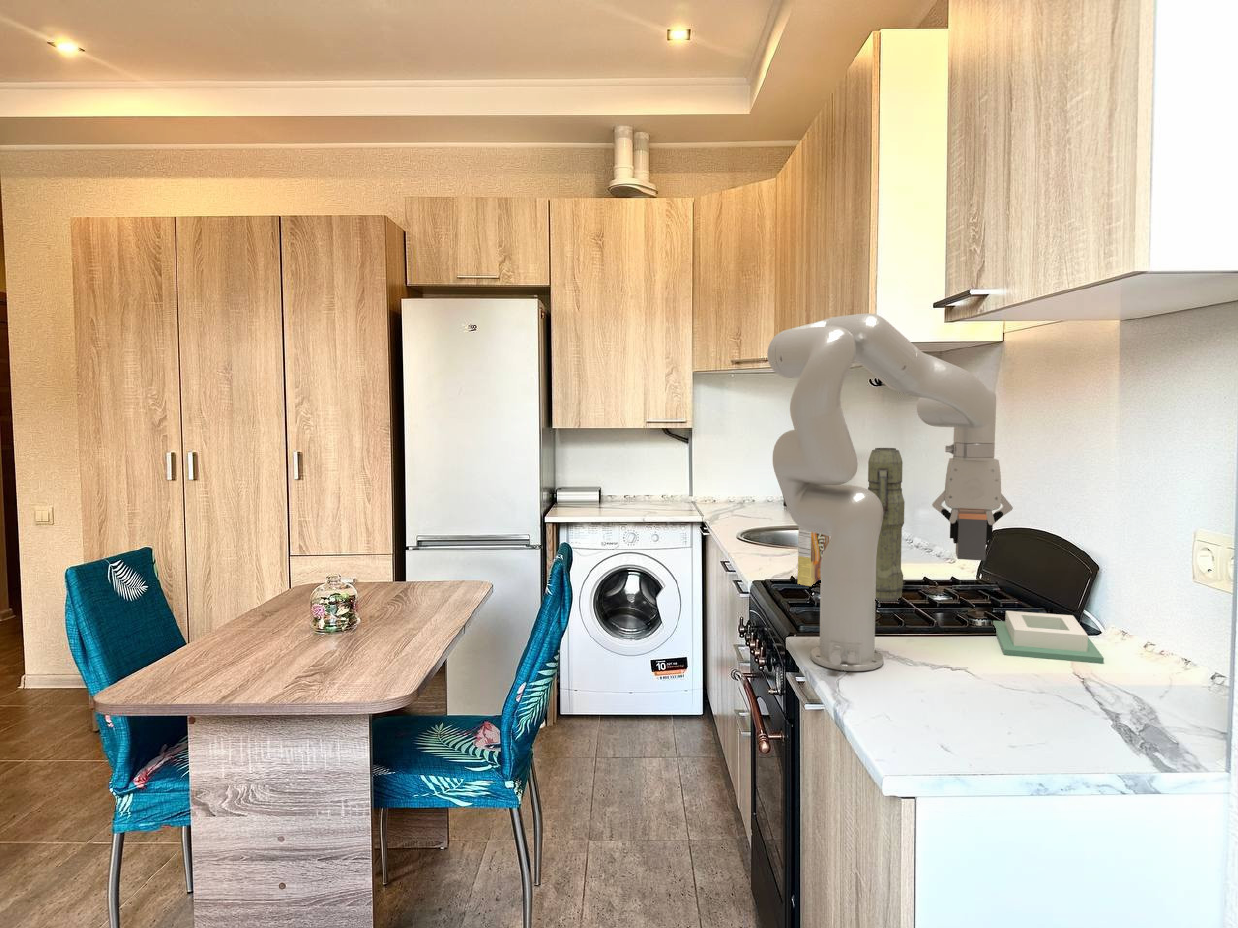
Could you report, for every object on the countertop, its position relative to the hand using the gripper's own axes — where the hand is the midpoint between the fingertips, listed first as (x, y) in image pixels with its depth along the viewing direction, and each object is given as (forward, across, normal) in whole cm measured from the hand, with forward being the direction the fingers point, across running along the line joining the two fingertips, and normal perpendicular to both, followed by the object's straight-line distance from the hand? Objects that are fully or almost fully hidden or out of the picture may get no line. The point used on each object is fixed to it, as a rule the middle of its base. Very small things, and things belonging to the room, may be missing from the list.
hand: (970, 542), depth 163 cm
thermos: (+18, -17, +24) cm, 35 cm away
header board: (+18, +13, -4) cm, 23 cm away
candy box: (+18, -34, +34) cm, 51 cm away
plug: (+3, 0, 0) cm, 3 cm away
